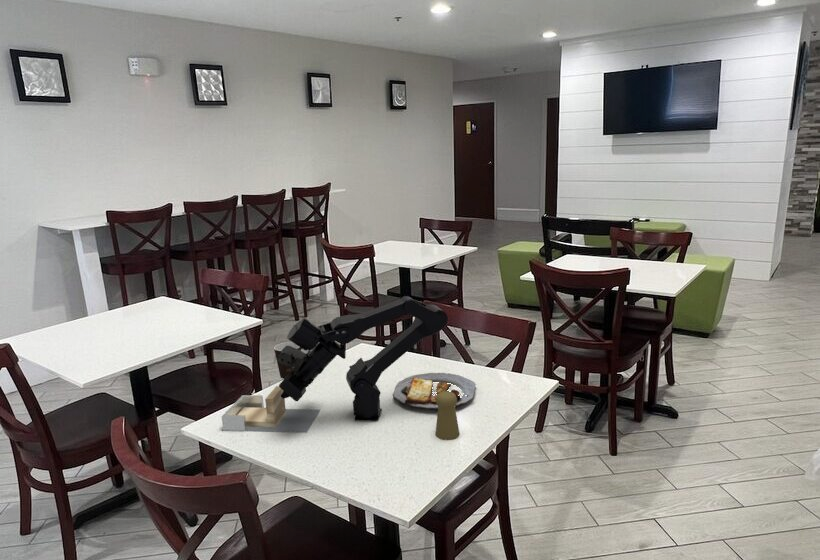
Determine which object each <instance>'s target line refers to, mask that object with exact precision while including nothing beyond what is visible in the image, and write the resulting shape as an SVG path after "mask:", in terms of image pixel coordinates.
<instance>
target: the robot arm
mask: <svg viewBox="0 0 820 560" xmlns="http://www.w3.org/2000/svg"><path fill="white" fill-rule="evenodd" d="M406 315H410V316H412V317H414V319H413V322H412V323H411V325H410V326H408V327H407V328H406V329H405V330H404V331H403V332H401V333H400V334H399V335H398V336H396V338H394V339H393V340H392V341H391V342H390V343H388V344H387V345H386V346H385V347H383V348H382V349H381V350H380V351H379V352H378V353H376V354H375V355H374V356H373V357H371V358H370V359H367V360H363V358H362V357H360V358H358V359H357V361H356V362H355V363H353V364H352V365H349V366H348V367H349V370H348V371H347V372H346V375H345V379H346V382H347V385H348V387H349V389H350V391H351V392H352V393H353V395H354V397H353V398H354V399H353V400H352V407H353V409H352V410H353V416H354V421H357V422H360V421H361V422H378V421H379V419H380V416H381V414H382V412H383V411H382V408H381V400H380V396H381V393H382V392H381V391H380V389H379V387H378V385H377V383H378V380H379V379H380V377H381V375H382V374H383V372H385V371H386V370H387V369H388V368H389V367H390V366H392V365H393V364H394V363H395V362H397V360H399V359H400V358H401V357H402V356H403V355H405V354H406V353H407V352H408V351H409V350H410V349H412V348H413V347H414V346H415V345H416V344H418V343H419V342H420V341H421V340H422V339H424V338H428V337H431V336H434V335H435V334H438V333H439V332H441V331H442V330H443V329H445V328H446V327H447V326H448V320H449V318H448V315H447V313H446V312H445V311H444V310H443V309H441V308H440V307H439V306H437V305H435V304H425V303H423V302H421V301H418V300H416V299H413V298H412V297H410V296H408V295H406V296H405V295H404V296H402V297H400V298H399V299H397V300H396V299H395V300H394V301H391V302H389V303H386V304H383V305H381V306H378V307H375V308H372V309H370V310H368V311H365V312H362V313H357V314H356V313H355V314H346V315H340V316H337V317H335V318H333V319H332V320H331V321H330V322H327V323H324V324H321V325H318V326H317V325H315V324H314V323H312V322H311V321H310V320H309V319H308V318H307V317H302V318H301V320H299V321H297V322H296V324H294V325H293V326H292V327H291V329H290V330H289V331H288V333H287V336H286V337H287V338H286V339H287V340H289V342H293V343H295V344H296V345H298V346H299V347H301V348H302V349H301V351H300V350H298V349H296V348H294V347H291V346H285V347H284V348H283V349H282V351H281V354H280V355H279V356H278V358H279V359H278V361H279V362H280V363H282V364H284V365H287V366H291V367H294V368H293V369H292V371H291V375H290V374H288V375H287V376H286V377H285V379H283V380H282V381H281V382H280V383H279V384H278V386H279V387H280V388H281V389H282V390H283V393H282V395H281V397H282V398H283V399H285V400H286V399H287V398H290V399H292V400H293V401H294V402H299V401H300V400H301V398H303V396H304V395H305V393H306V392H307V389H306V388H307V387H309V386H310V385H311V384H312V383H313V381H314V380H315V379H316V378H317V377H318V376H319V375H320V374H321V373H323V371H324V370H325V368H326V367H327V366H329V365H330V363H331V362H332V361H333V360H334V359H335V358H336V357H337V356H339V357H340V358H342V359H343V360H346V357H347V356H346V355H347V353H346V350H347V349H346V348H347V346H346V345H347V344H349V343H351V342H353V341H354V340H356V339H357V338H360V336H361V335H363V333H365V332H367V331H369V330H370V329H373V328H375V327H378V326H380V325H383V324H385V323H388V322H390V321H393V320H396V319H398V318H401V317H404V316H406ZM302 350H303V351H302ZM308 350H310V351H309V352H308ZM304 351H305V352H304Z"/></svg>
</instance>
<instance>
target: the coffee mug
mask: <svg viewBox="0 0 820 560" xmlns="http://www.w3.org/2000/svg"><path fill="white" fill-rule="evenodd" d="M285 346H291V347H294V348H296V349H298V350H300V351H302V350H303V349H302V348H301V347H299V346H298V345H296V344H295V343H293V342H292V341H286V342H281V343H278V344H276V345H275V346H274V347H273V350H274V355H275V359H276V364H277V368H278V372H279V377H280V378H281V379H283V380H284V379H285V377H286V376H287V375H288V374H290V375H291V371H292V369H293V368H294V367H291V366H287V365H284V364H282V363H280V362H279V361H278V359H279V358H278V356H279V355H280V354H281V351H282V349H283V348H284V347H285ZM309 351H311V350H307V353H308V352H309Z"/></svg>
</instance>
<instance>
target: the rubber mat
mask: <svg viewBox="0 0 820 560" xmlns="http://www.w3.org/2000/svg"><path fill="white" fill-rule="evenodd" d="M320 411H321V409H320V408H319V409H309V408H305V409H304V408H299V409H298V408H286V414H285V415H284V417H283V418H282V419H281V421H280V422H279V423H278V425H277V426H276V427H249V426H246V427H247V430H246V431H245V432H251V433H252V432H253V433H254V432H256V433H257V432H258V433H259V432H261V433H303V434H304V433H305V434H307V433H308V432H309V429H310V428H311V426H312V425H313V423H314V422H315V420H316V418H317V417H318V415H319V414H320ZM221 431H222V432H224V431H223V429H222V430H221Z"/></svg>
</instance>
